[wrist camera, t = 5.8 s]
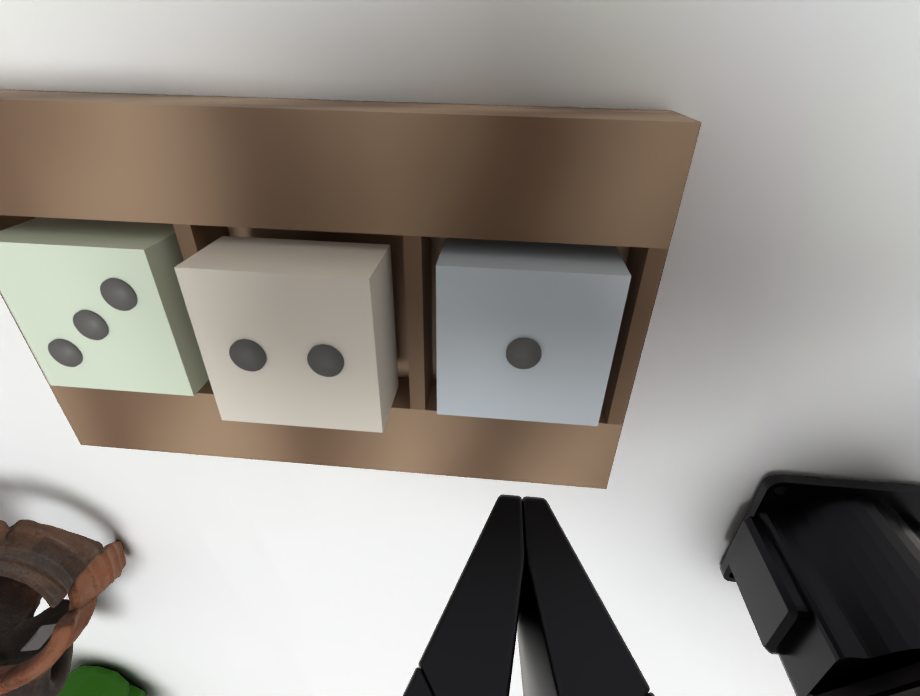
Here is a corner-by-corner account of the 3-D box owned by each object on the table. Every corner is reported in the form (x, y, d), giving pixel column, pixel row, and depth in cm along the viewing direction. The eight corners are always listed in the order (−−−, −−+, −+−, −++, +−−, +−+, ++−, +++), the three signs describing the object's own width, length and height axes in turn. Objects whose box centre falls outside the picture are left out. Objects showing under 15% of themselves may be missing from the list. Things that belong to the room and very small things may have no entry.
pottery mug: (-78, 488, 26) (-227, 591, 19) (119, 440, 29) (60, 512, 21) (11, 660, 29) (-85, 807, 22) (180, 602, 32) (147, 715, 25)
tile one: (614, 243, 14) (632, 277, 12) (587, 380, 17) (598, 428, 15) (446, 235, 15) (435, 266, 13) (446, 371, 17) (436, 416, 15)
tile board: (672, 110, 13) (701, 122, 11) (596, 442, 19) (606, 489, 17) (-18, 89, 14) (-106, 96, 12) (123, 405, 21) (81, 444, 19)
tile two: (390, 244, 14) (368, 280, 12) (398, 385, 16) (382, 435, 14) (222, 235, 14) (171, 268, 12) (257, 375, 17) (220, 422, 15)
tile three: (193, 222, 15) (141, 250, 13) (229, 356, 18) (192, 398, 16) (43, 215, 15) (-31, 241, 13) (101, 347, 18) (47, 387, 16)
